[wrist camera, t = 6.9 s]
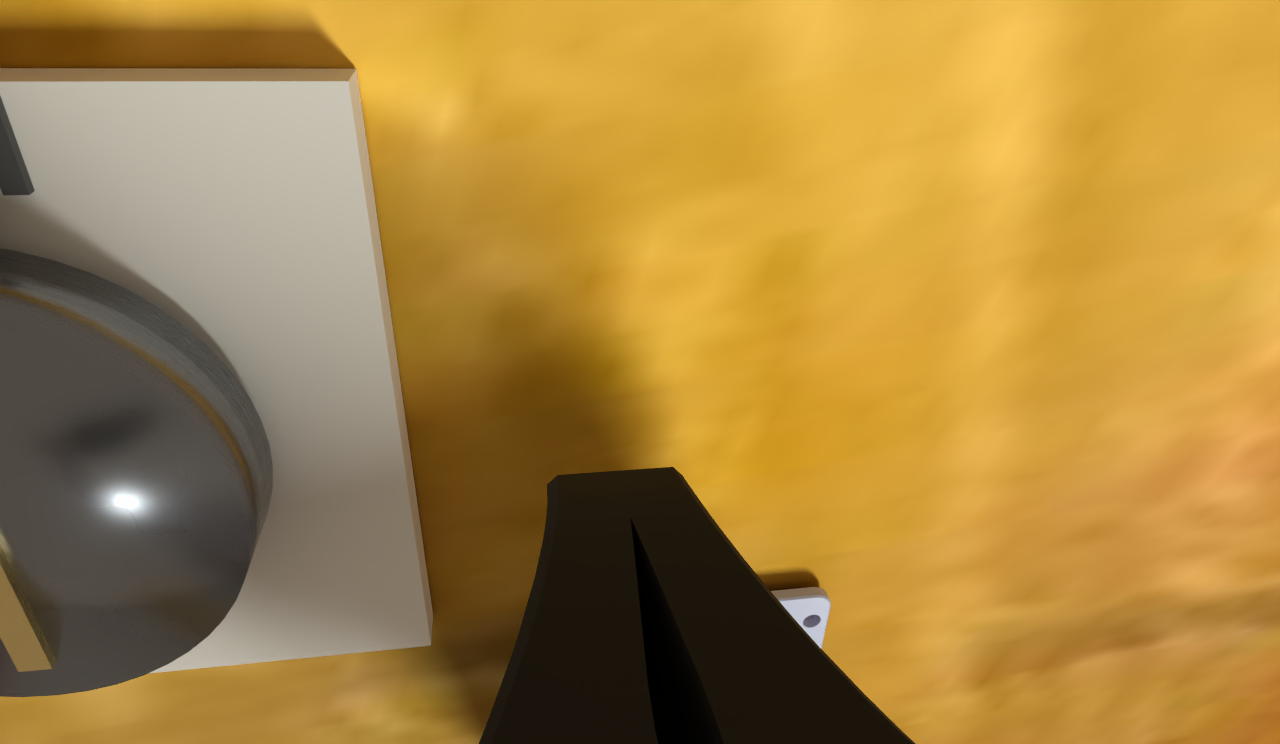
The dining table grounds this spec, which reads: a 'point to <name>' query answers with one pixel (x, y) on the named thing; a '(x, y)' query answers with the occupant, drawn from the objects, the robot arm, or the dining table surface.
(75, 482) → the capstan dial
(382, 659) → the dining table surface
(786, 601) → the robot arm
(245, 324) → the white square board
